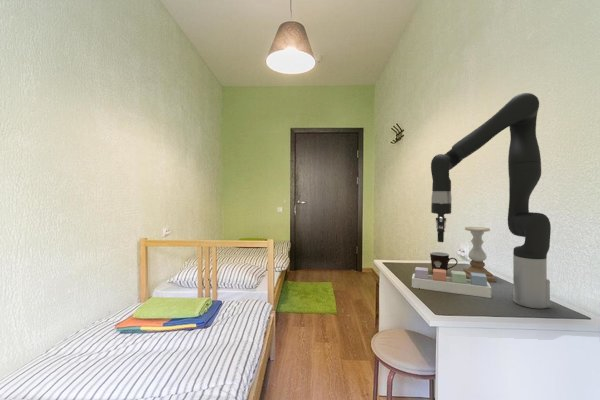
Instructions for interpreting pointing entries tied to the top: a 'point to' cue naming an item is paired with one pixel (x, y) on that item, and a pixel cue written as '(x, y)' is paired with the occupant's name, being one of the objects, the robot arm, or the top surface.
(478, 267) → the candle holder
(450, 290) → the frame
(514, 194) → the robot arm
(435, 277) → the terracotta key
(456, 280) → the sage green key
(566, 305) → the top surface
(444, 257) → the coffee mug
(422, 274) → the lavender block
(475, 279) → the light blue block
